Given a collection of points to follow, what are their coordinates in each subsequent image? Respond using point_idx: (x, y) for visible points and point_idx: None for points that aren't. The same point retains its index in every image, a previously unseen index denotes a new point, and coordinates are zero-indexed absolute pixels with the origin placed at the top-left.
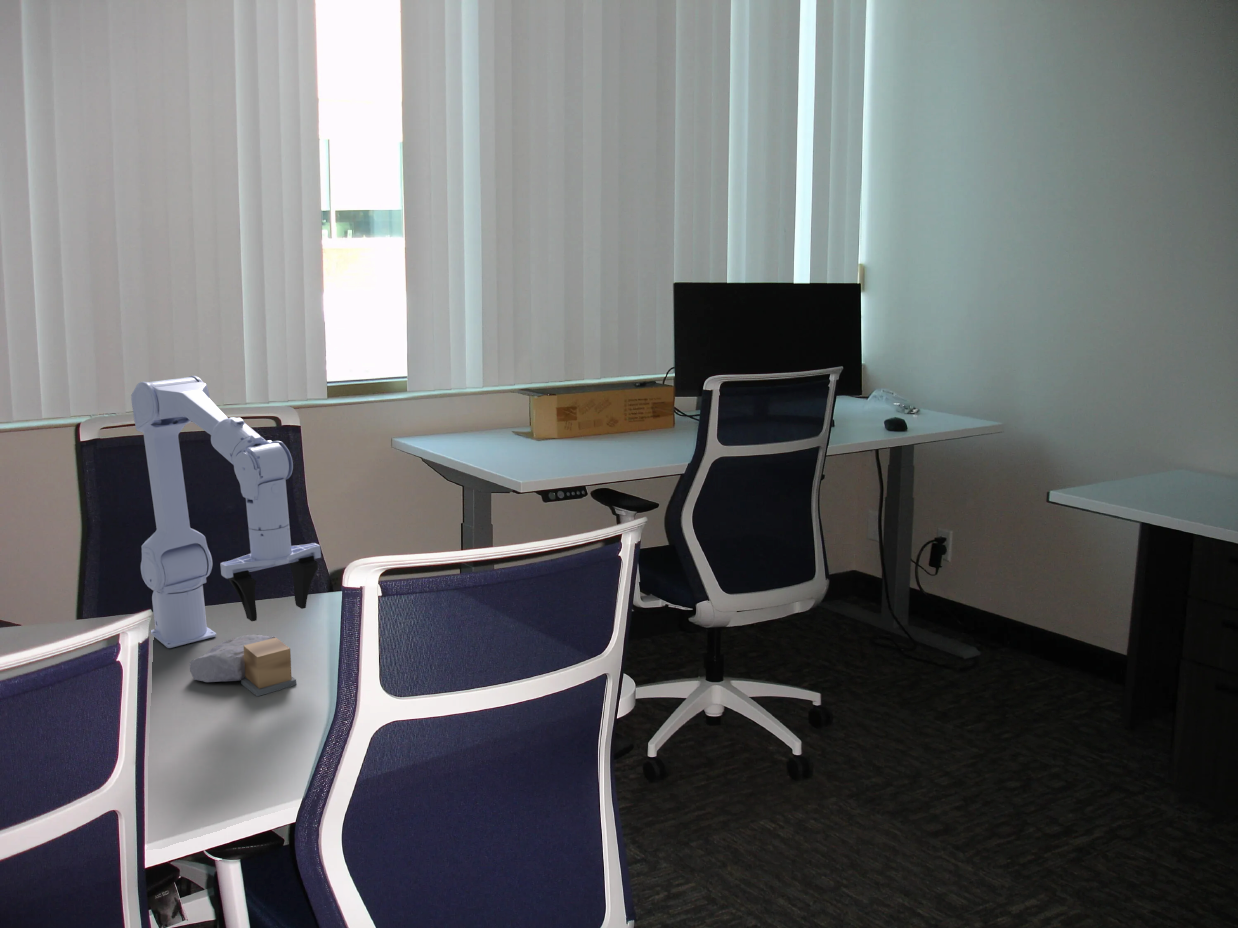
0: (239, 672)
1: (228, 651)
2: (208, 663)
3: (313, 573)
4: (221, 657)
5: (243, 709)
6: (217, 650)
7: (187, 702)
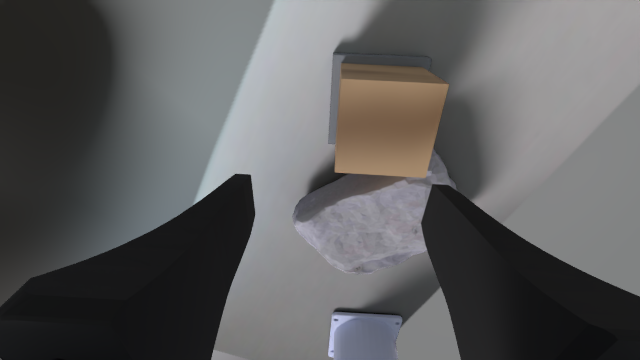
0: None
1: None
2: None
3: (96, 260)
4: None
5: (495, 7)
6: (407, 244)
7: (526, 136)
